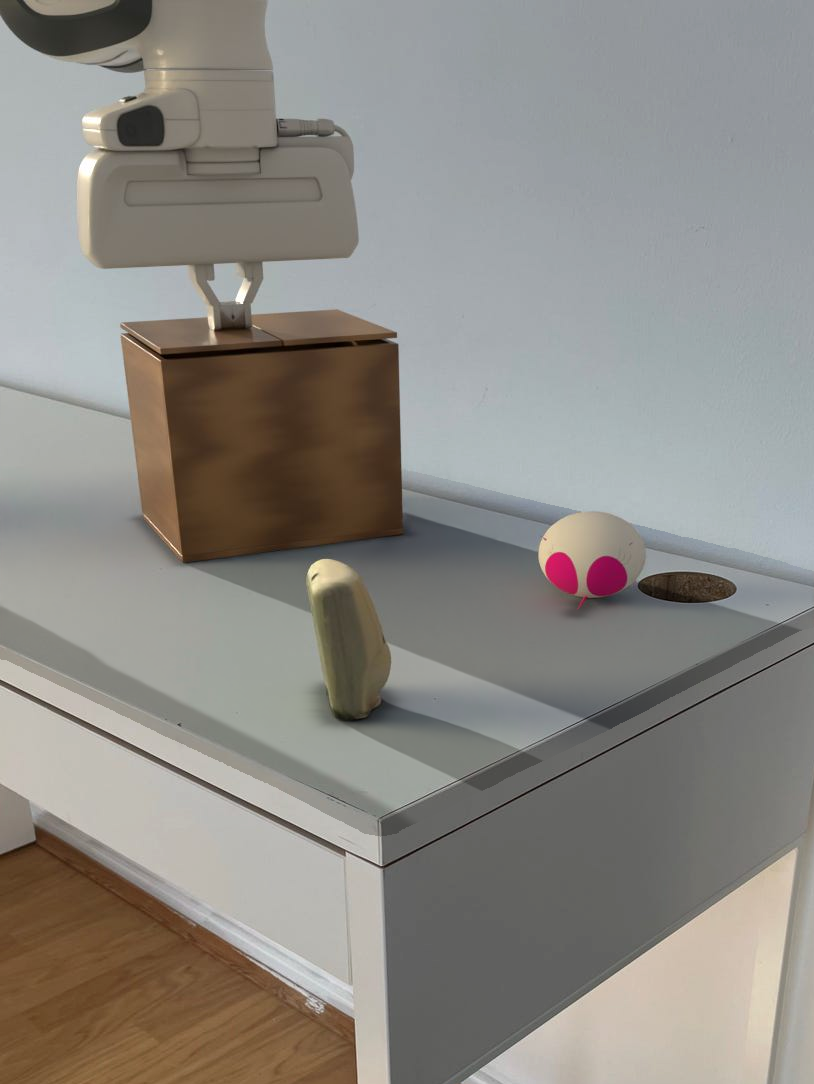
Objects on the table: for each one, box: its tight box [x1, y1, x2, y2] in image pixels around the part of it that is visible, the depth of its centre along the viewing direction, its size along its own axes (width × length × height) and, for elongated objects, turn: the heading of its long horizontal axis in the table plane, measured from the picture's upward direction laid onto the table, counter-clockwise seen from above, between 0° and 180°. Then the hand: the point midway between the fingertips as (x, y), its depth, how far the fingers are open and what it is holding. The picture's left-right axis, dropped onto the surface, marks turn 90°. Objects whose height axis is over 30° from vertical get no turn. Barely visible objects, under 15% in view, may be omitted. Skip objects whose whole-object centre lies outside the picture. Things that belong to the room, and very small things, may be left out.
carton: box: [119, 308, 404, 563], centre depth 104 cm, size 18×13×15 cm
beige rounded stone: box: [305, 558, 392, 721], centre depth 75 cm, size 6×5×8 cm
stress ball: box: [538, 510, 647, 609], centre depth 93 cm, size 8×8×7 cm
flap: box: [119, 316, 282, 355], centre depth 99 cm, size 9×13×1 cm
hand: (230, 328), depth 100 cm, fingers closed, pressing on flap
